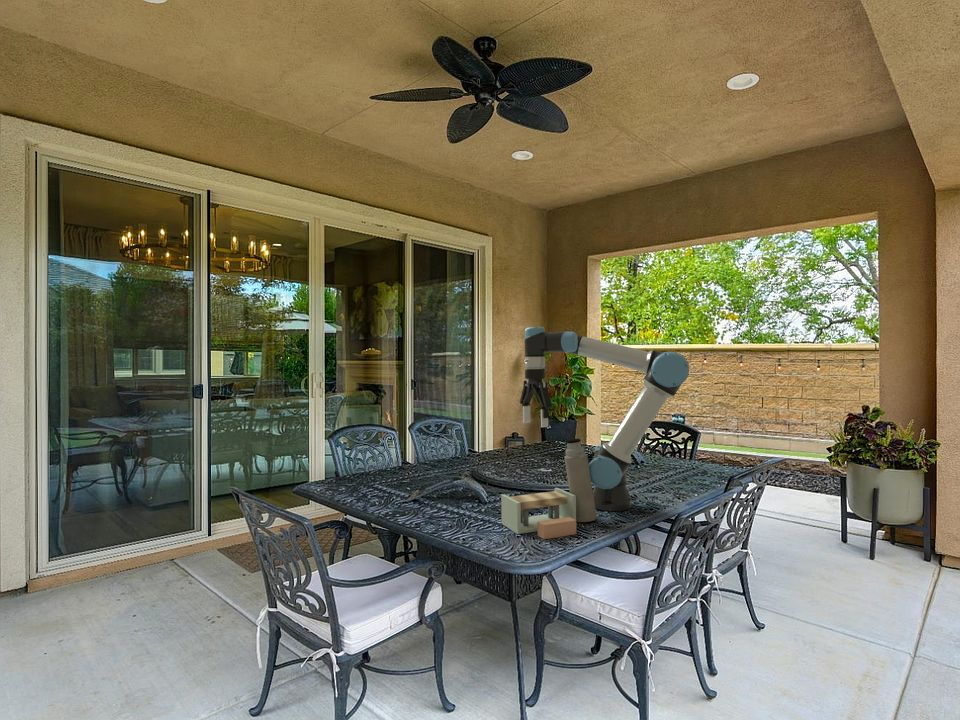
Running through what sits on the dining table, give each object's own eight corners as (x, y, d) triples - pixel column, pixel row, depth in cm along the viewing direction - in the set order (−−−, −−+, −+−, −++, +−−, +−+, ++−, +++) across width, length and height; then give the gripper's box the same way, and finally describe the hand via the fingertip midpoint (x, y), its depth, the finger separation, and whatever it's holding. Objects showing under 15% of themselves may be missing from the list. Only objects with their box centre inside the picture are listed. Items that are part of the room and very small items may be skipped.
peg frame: (557, 515, 196) (557, 487, 196) (576, 524, 185) (575, 495, 185) (501, 523, 187) (501, 494, 187) (517, 534, 176) (517, 503, 176)
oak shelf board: (555, 498, 193) (554, 491, 193) (567, 503, 186) (567, 496, 186) (509, 504, 186) (509, 496, 186) (520, 510, 178) (520, 502, 178)
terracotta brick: (569, 530, 179) (569, 516, 179) (576, 534, 175) (576, 520, 175) (537, 535, 174) (537, 521, 174) (543, 539, 171) (543, 525, 171)
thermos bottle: (571, 517, 194) (559, 439, 194) (593, 513, 194) (581, 436, 194) (576, 523, 186) (564, 442, 186) (599, 519, 186) (586, 439, 186)
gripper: (511, 367, 213) (511, 421, 213) (542, 369, 190) (543, 429, 190) (527, 367, 216) (528, 420, 216) (561, 368, 193) (561, 428, 193)
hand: (535, 425), depth 203 cm, fingers open, 13 cm apart
